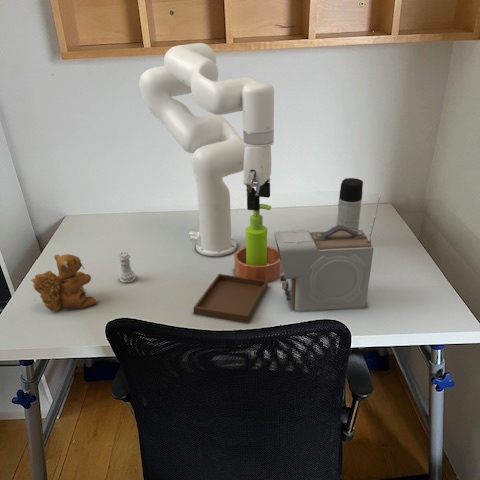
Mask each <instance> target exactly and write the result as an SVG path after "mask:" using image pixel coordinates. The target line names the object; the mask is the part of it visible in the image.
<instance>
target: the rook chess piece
mask: <svg viewBox="0 0 480 480" xmlns="http://www.w3.org/2000/svg"><path fill="white" fill-rule="evenodd" d="M117 258H118V260H119V264H120V272H119V275H118V276H119V281H120V282H122V283H124V284H130V283H133V282H134V281H135V279H136V275H135V272H134V271H133V270H132V268H131V263H130V262H131V260H130V258H131V256H130V254H129V253H128V252H127V251H124V252H123V251H122V252H120V253H119V254H118V257H117Z"/></svg>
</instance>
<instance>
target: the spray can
mask: <svg viewBox="0 0 480 480" xmlns="http://www.w3.org/2000/svg"><path fill="white" fill-rule="evenodd" d="M363 187H364V181H363V179H359V178H354V177H347V178H344V179H343V180H342V181H341V183H340V189H339V195H338V196H339V197H338V207H337V217H336V226H338V225H342V226H345V227H347V228H348V229H350V230H359V226H360V219H361V209H362V202H363Z"/></svg>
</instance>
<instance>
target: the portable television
mask: <svg viewBox="0 0 480 480" xmlns="http://www.w3.org/2000/svg"><path fill="white" fill-rule="evenodd" d="M377 198H378V200H377V204H376V207H375V212H374V216H373V219H372V223H371V226H370V232H369V236H368V237H367V234H366V233H365V232H364V230H363V229H358V230H350V229H348V228H347V227H345V226H342V225H338V226H337V225H335V226H333V227H331V228H329V229H328V230H326V231H310V230H309V229H303V230H301V229H300V230H283V231H282V230H279V231H273V235H274V239H275V244H276V249H277V250H278V254H279V259H280V263H281V266H282V273H281V274H280V277H279V283H280V284H281V290H283V291H284V295H285V296H286V301H289V304H290V307H291V310H295V311H296V312H308V311H309V312H310V311H325V310H326V311H327V310H343V309H361V308H366V307H367V301H368V293H369V286H370V276H371V270H372V263H373V255H374V247H373V245H372V235H373V230H374V226H375V222H376V221H375V220H376V218H377V217H376V215H377V212H378V207H379V204H380V201H381V200H380V199H381V195H379V196H378V197H377Z"/></svg>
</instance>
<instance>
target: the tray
mask: <svg viewBox="0 0 480 480" xmlns="http://www.w3.org/2000/svg"><path fill="white" fill-rule="evenodd" d="M268 288H269V282H268V281H265V280H258V279H251V278H244V277H237V276H236V275H229V274H225V273H224V274H223V273H218V274H217V275H216V277H215V278H214V280H213V281H212V282H211V284H209V286H208V287H207V289H206V290H205V292H204V293H203V294H202V295H201V296H200V298H199V299H198V301H197V302H196V303H195V304H194V306H193V315H198V316H205V317H211V318H215V319H216V318H217V319H221V320H229V321H233V322H238V323H239V322H241V323H245V324H248V322H250V319H251V318H252V316H253V314H254V312H255V311H256V308H257V307H258V305H259V304H260V302H261V300H262V298H263V297H264V295H265V293H266V291H267V290H268Z"/></svg>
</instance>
